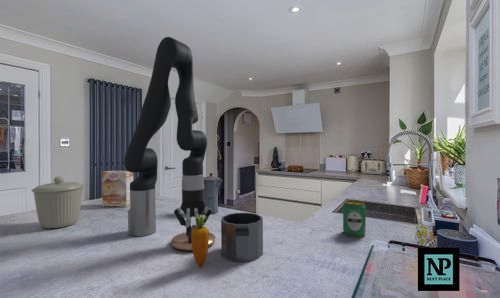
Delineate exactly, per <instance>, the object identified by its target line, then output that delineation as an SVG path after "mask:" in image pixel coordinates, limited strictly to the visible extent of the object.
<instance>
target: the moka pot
mask: <svg viewBox="0 0 500 298" xmlns="http://www.w3.org/2000/svg"><path fill="white" fill-rule="evenodd" d="M203 178H204V203H205V205H206V207H208V208H212V212H211V214H210V215H216V214H218V213H219V205H218V193H219V188H220V186H221V183H222V182H223V181H224V180H223V179H222V178H220V177H218V176H213V173H212V172H210V173H209V175H208V176H203ZM201 214H204V215H206V214H205V209H204V210H203V212H202V213H201Z"/></svg>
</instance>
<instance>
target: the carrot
mask: <svg viewBox="0 0 500 298" xmlns="http://www.w3.org/2000/svg"><path fill="white" fill-rule="evenodd" d="M206 218H207V217H205V215H200V218H199V215H197V216H196V221H195V224H196V223H197V226H198V227H195V228H194V229H192V231H191V241H192V250H191V251H192V254H193V257H194V260H195V262H196V264H197V266H198V267H199V268H202V267H204V266H203V265H204V264H205V262H206V259H207V256H208V253H209V252H208V251H209V247H210V246H209V233H210V230H209V228H208V227H206V226H205V225H206V223H203V222H204V220H205V219H206ZM204 224H205V225H204ZM208 246H209V247H208Z"/></svg>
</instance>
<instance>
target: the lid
mask: <svg viewBox="0 0 500 298" xmlns="http://www.w3.org/2000/svg"><path fill="white" fill-rule="evenodd" d="M195 227H196V224H192V225H191V229H190V231H189V232H188V236H187V235H186V232H183V233H179V234H177V235H175V236H173V237H172V238H171V240H170V243H171V247H172V248H173V249H175V250H180V251H187V252H188V251H193V250H192V241H191V231H192V229H194V228H195ZM215 242H216V235H214V233H212V232H209V246H208V248H209V247H211V246H213V245H214V244H215Z"/></svg>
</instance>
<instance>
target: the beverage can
mask: <svg viewBox="0 0 500 298" xmlns="http://www.w3.org/2000/svg"><path fill="white" fill-rule="evenodd" d="M366 207H367V206H366V205H365V202H363V201H360V200H351V199H350V200H346V201H344V203H343V205H342V230H343V232H344V235H346V236H350V237H354V238H359V237H361V238H362V237H363V236H365V234H366V224H367V223H366V220H367V219H366V217H367V214H366V211H367V210H366Z"/></svg>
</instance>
